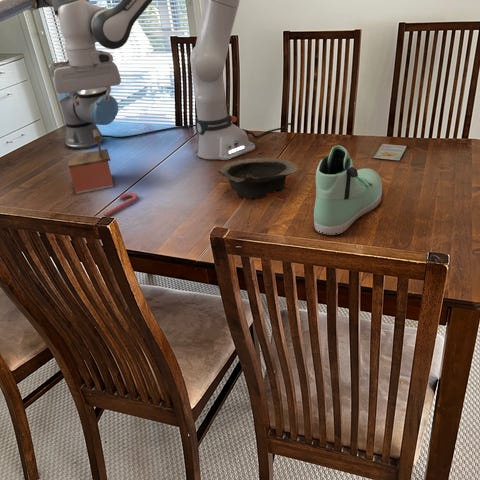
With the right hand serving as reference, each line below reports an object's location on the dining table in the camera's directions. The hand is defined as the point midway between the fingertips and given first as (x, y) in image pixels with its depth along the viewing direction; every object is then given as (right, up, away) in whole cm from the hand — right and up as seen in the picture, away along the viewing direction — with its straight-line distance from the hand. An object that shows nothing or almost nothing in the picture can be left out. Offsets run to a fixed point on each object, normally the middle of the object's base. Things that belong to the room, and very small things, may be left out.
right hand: (92, 103), depth 154 cm
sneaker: (+79, -35, -15) cm, 87 cm away
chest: (-3, -25, +13) cm, 28 cm away
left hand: (-39, -12, 0) cm, 41 cm away
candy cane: (+10, -34, -3) cm, 35 cm away
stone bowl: (+53, -27, +1) cm, 60 cm away
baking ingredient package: (+102, -13, +19) cm, 104 cm away
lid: (-4, -17, +8) cm, 19 cm away
